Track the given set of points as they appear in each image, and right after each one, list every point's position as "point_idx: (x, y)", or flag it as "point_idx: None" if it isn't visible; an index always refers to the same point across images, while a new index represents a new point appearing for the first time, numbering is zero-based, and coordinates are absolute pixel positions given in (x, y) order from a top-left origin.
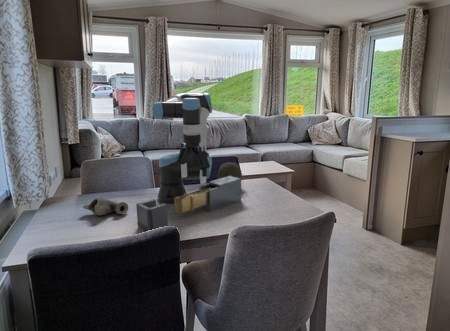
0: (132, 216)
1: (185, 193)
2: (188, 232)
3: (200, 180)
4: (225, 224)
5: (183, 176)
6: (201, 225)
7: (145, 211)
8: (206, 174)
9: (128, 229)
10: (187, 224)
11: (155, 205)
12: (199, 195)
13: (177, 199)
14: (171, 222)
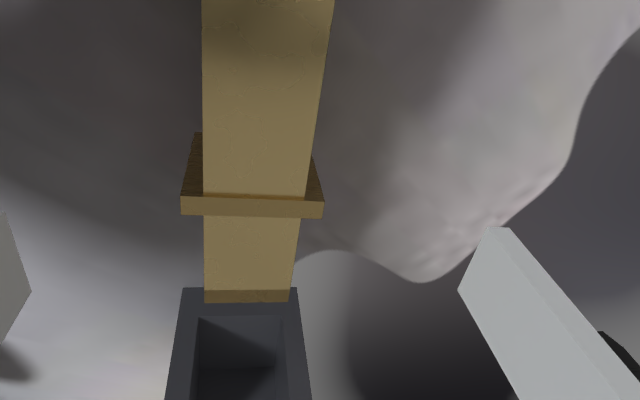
0: (25, 324)
1: (188, 200)
2: (406, 257)
3: (482, 327)
4: (539, 85)
5: (14, 297)
6: (418, 178)
7: None
8: (633, 361)
9: None
10: (345, 213)
11: (191, 378)
12: (313, 114)
13: (251, 300)
14: None
